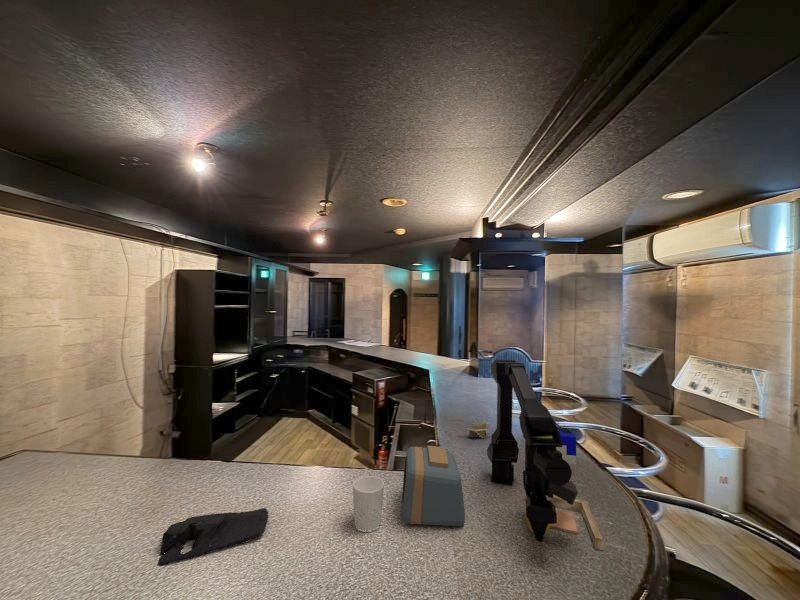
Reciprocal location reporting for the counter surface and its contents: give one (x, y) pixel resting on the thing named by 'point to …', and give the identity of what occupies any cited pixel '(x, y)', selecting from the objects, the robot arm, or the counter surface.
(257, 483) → the counter surface
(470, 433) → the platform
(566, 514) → the wooden corner frame
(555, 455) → the robot arm
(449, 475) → the grey taped box
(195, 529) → the black flat piece
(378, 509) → the white cup
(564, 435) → the puzzle toy
